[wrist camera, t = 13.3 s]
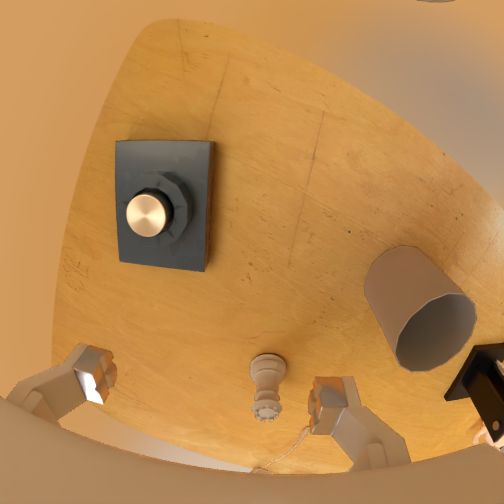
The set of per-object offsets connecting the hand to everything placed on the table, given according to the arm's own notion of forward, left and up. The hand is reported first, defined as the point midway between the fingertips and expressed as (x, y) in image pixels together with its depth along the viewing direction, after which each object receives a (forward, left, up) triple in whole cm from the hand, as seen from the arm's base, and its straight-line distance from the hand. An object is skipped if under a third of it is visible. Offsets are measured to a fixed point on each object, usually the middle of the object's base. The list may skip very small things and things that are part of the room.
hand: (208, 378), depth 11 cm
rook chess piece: (+17, +4, -20) cm, 26 cm away
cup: (+4, +17, -20) cm, 26 cm away
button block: (-2, -8, -19) cm, 21 cm away
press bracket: (+19, +39, -19) cm, 48 cm away
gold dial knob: (-2, -8, -16) cm, 18 cm away
